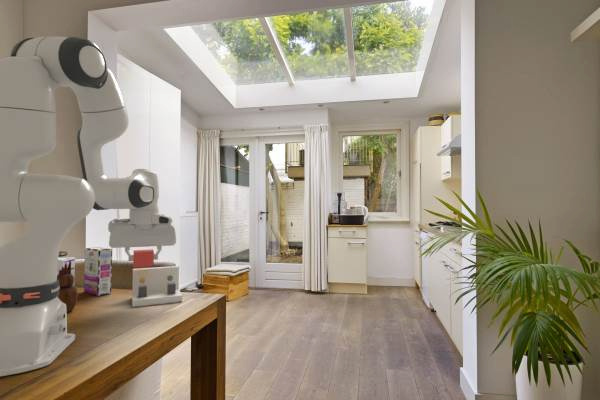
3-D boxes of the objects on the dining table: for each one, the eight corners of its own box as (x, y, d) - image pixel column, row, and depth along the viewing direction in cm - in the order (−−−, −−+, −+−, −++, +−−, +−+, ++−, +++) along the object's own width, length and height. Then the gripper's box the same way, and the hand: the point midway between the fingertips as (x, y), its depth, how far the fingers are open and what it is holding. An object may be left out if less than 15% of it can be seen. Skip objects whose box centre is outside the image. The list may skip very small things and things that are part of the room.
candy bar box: (112, 293, 124) (113, 248, 125) (97, 296, 120) (98, 249, 120) (97, 289, 130) (98, 246, 131) (83, 291, 126) (84, 247, 127)
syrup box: (75, 299, 116) (76, 256, 117) (61, 304, 110) (62, 259, 111) (59, 298, 117) (60, 256, 117) (45, 303, 111) (46, 258, 111)
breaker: (146, 301, 113) (146, 286, 113) (138, 302, 112) (138, 287, 112) (146, 300, 115) (146, 285, 115) (138, 300, 114) (138, 285, 114)
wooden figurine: (72, 307, 107) (73, 259, 107) (80, 310, 104) (81, 261, 104) (46, 312, 101) (47, 262, 102) (54, 316, 98) (55, 264, 98)
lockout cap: (152, 263, 118) (152, 249, 118) (153, 266, 112) (153, 251, 112) (133, 264, 115) (133, 250, 115) (133, 267, 110) (133, 252, 110)
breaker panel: (182, 301, 114) (182, 271, 115) (132, 306, 108) (132, 275, 108) (177, 293, 125) (178, 265, 125) (132, 297, 119) (132, 268, 119)
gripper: (107, 219, 106) (106, 263, 106) (177, 218, 115) (176, 259, 115) (109, 218, 112) (108, 260, 112) (175, 218, 121) (174, 257, 121)
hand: (143, 260), depth 114 cm, fingers closed on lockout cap, 6 cm apart
